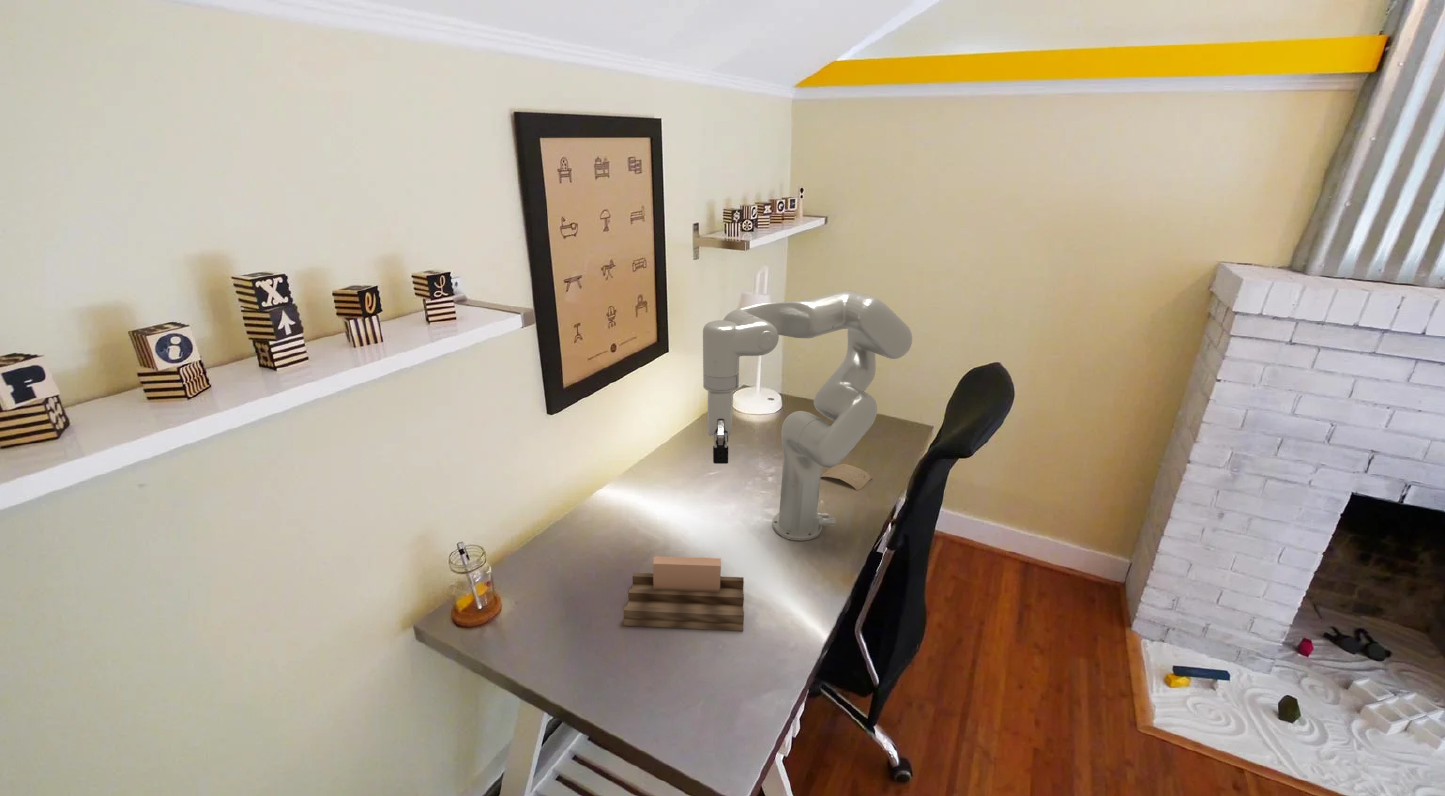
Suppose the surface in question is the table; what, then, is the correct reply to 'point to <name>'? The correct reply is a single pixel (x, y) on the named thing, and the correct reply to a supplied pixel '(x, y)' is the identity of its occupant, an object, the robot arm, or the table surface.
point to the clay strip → (686, 574)
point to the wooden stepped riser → (685, 606)
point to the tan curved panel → (848, 475)
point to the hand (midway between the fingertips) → (720, 452)
